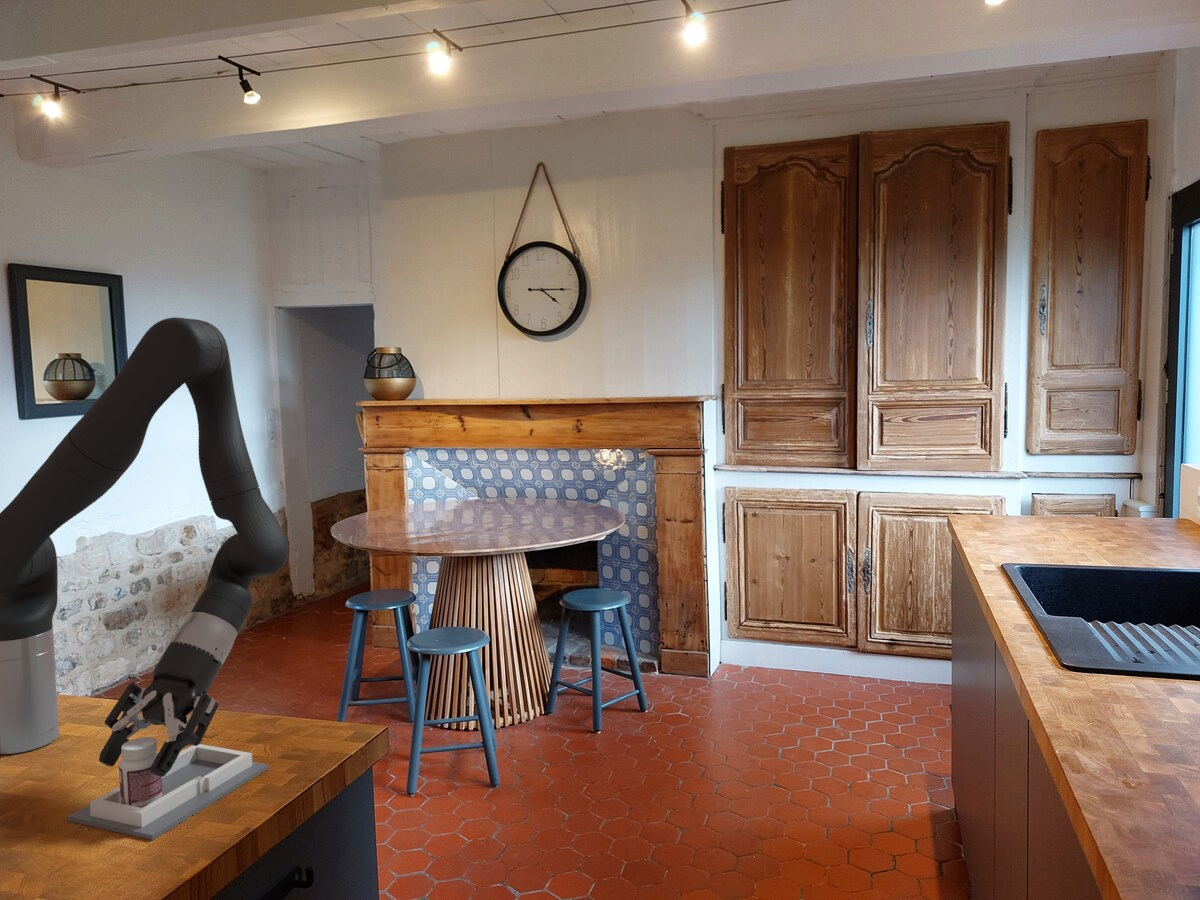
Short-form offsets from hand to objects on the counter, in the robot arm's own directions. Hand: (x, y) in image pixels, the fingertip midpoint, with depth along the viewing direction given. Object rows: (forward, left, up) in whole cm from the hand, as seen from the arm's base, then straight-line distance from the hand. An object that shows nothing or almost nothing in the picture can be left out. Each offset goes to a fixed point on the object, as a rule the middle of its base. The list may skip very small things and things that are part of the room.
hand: (130, 769), depth 107 cm
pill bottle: (0, +2, -6) cm, 6 cm away
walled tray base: (0, +7, -6) cm, 9 cm away
